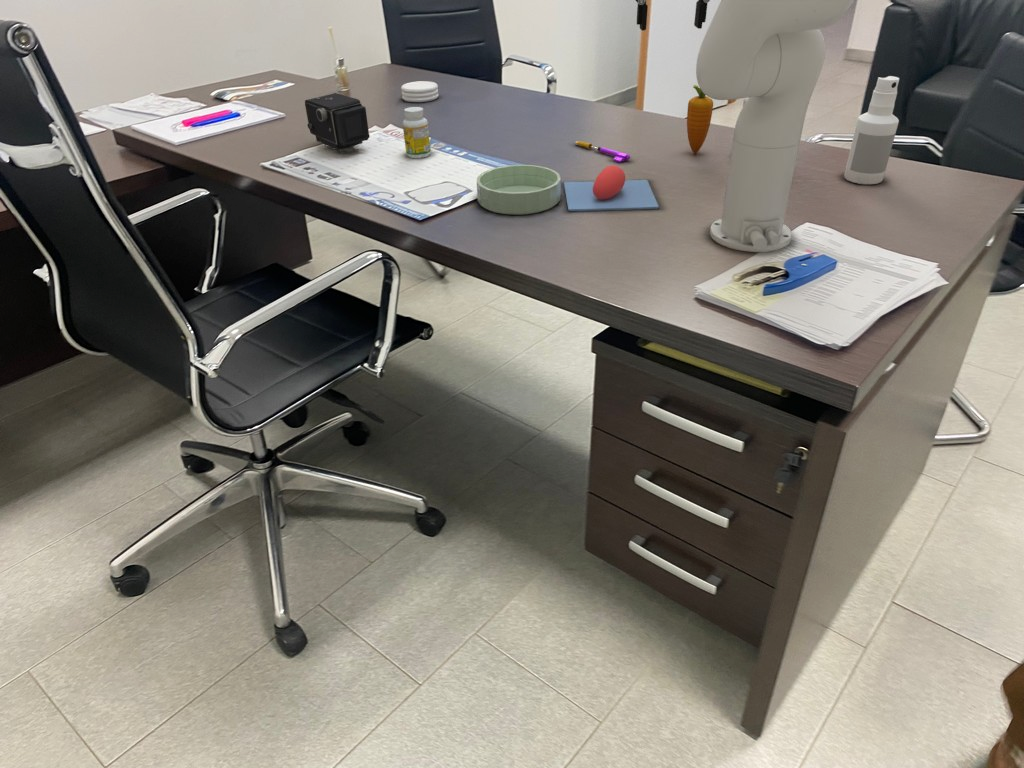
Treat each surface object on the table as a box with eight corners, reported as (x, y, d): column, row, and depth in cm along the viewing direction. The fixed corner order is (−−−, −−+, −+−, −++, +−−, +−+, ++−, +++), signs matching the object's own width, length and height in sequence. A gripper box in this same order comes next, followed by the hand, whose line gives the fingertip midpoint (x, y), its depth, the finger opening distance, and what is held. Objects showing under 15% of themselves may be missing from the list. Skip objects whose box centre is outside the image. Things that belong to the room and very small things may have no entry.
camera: (307, 152, 164) (341, 160, 154) (294, 100, 158) (328, 104, 148) (346, 142, 169) (382, 148, 159) (335, 90, 164) (371, 94, 154)
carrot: (707, 157, 149) (716, 81, 140) (682, 157, 150) (690, 80, 141) (706, 150, 153) (716, 75, 144) (683, 149, 154) (690, 75, 145)
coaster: (445, 96, 199) (444, 82, 197) (423, 104, 192) (422, 90, 190) (417, 92, 203) (416, 79, 201) (394, 100, 196) (393, 87, 194)
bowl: (562, 214, 126) (562, 192, 124) (476, 216, 127) (474, 194, 124) (558, 184, 139) (558, 163, 136) (479, 186, 139) (478, 165, 137)
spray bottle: (859, 187, 132) (885, 84, 122) (836, 175, 138) (859, 75, 127) (890, 182, 134) (919, 80, 123) (866, 171, 139) (892, 72, 129)
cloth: (658, 208, 127) (659, 206, 127) (568, 211, 127) (568, 209, 127) (646, 181, 138) (647, 179, 138) (563, 184, 139) (563, 182, 138)
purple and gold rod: (631, 159, 149) (578, 143, 159) (630, 153, 148) (577, 138, 158) (622, 165, 148) (569, 148, 158) (621, 159, 147) (568, 143, 157)
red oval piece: (635, 198, 134) (631, 164, 133) (615, 195, 126) (611, 159, 126) (610, 203, 137) (606, 170, 136) (589, 201, 129) (584, 165, 129)
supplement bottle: (433, 156, 155) (428, 110, 149) (408, 159, 154) (403, 113, 148) (428, 149, 159) (423, 104, 154) (404, 152, 158) (399, 107, 152)
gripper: (629, -86, 113) (623, 33, 123) (740, -90, 113) (725, 30, 122) (623, -88, 119) (618, 26, 129) (728, -92, 119) (714, 23, 128)
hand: (670, 28), depth 126 cm, fingers open, 9 cm apart
